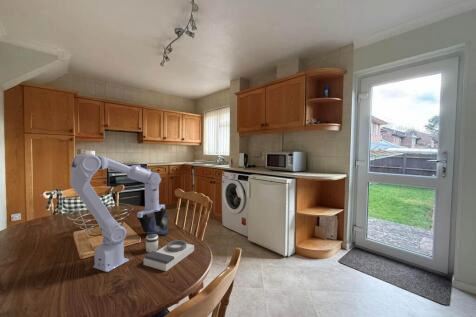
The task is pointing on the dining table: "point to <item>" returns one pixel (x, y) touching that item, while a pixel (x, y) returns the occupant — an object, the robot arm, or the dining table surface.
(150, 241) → the lens
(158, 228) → the small box
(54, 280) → the dining table surface
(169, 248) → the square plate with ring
